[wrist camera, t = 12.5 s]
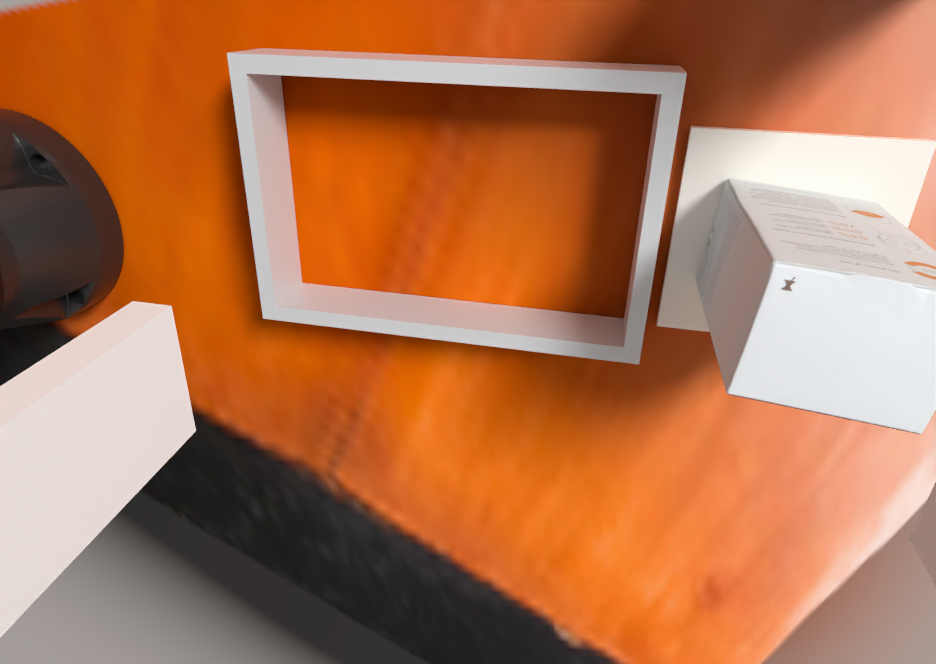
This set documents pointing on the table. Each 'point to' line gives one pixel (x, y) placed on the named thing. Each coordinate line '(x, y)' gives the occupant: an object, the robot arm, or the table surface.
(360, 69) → the bin
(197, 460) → the table surface
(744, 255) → the small box
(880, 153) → the tile
